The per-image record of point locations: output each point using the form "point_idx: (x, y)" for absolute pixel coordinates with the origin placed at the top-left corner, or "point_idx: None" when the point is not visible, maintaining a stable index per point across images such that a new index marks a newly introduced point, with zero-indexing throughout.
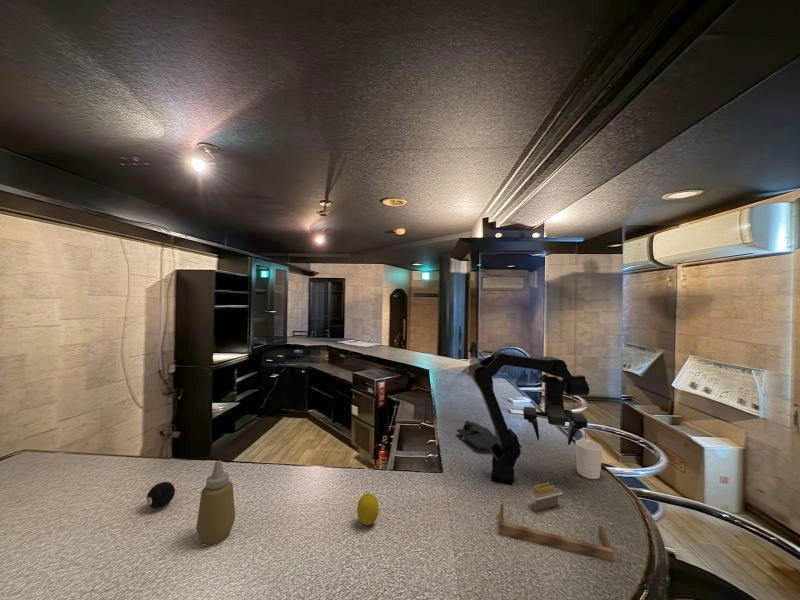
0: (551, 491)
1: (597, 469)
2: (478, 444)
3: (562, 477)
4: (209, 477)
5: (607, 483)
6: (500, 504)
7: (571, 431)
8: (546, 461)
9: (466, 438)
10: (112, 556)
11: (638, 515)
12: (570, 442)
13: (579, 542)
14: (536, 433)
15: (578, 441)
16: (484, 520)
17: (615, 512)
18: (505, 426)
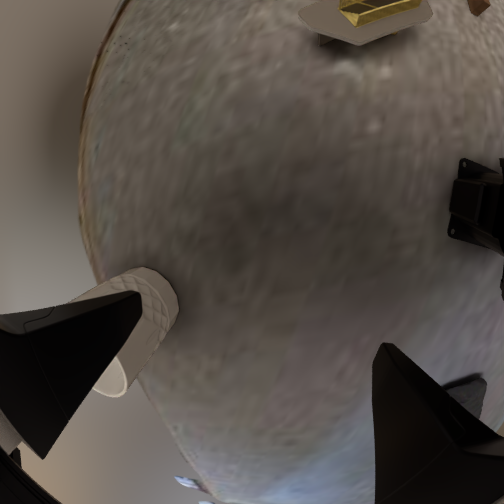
0: (349, 4)
1: (109, 279)
2: (482, 388)
3: (242, 258)
4: None
5: (110, 249)
6: (489, 3)
7: (24, 329)
8: (272, 363)
9: (480, 414)
10: None
11: (93, 98)
12: (112, 295)
13: None
14: (427, 380)
15: (120, 391)
16: (498, 9)
17: (137, 81)
18: None
